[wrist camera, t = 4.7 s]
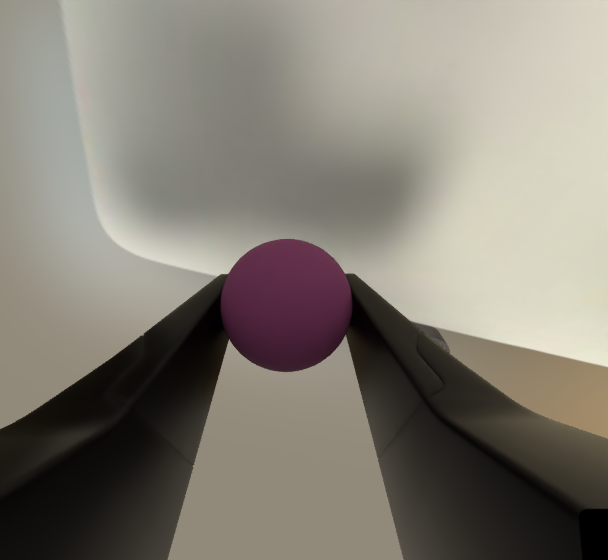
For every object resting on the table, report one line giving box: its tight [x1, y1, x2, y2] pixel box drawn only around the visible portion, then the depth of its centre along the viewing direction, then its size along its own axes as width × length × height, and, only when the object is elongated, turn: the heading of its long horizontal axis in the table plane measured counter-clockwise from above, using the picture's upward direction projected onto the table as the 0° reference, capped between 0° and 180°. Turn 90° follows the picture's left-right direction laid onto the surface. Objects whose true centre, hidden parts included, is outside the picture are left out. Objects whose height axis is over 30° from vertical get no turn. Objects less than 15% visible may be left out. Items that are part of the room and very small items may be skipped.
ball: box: [220, 239, 352, 372], centre depth 8 cm, size 4×4×4 cm
